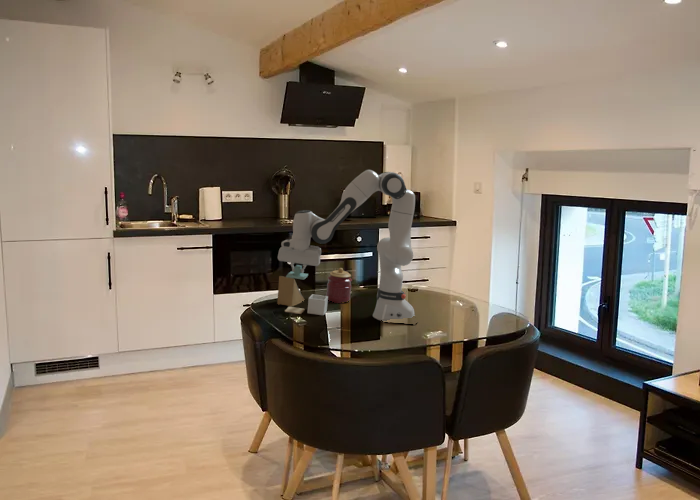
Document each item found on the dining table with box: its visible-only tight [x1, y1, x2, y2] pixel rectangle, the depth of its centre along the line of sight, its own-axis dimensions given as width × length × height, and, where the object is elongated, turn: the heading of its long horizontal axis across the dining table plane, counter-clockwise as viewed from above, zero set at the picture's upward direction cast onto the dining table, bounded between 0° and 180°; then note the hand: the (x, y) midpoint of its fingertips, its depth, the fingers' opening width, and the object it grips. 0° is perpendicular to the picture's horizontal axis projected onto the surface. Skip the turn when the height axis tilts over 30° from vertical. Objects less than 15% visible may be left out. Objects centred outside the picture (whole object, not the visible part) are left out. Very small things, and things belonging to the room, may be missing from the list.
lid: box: [285, 264, 309, 280], centre depth 303 cm, size 9×9×5 cm
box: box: [306, 293, 329, 316], centre depth 308 cm, size 8×8×8 cm
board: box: [284, 306, 305, 315], centre depth 307 cm, size 8×8×1 cm
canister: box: [325, 267, 353, 304], centre depth 334 cm, size 13×13×18 cm
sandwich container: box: [276, 275, 305, 307], centre depth 320 cm, size 9×15×15 cm, turn 157°
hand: (297, 272), depth 303 cm, fingers closed on lid, 2 cm apart
